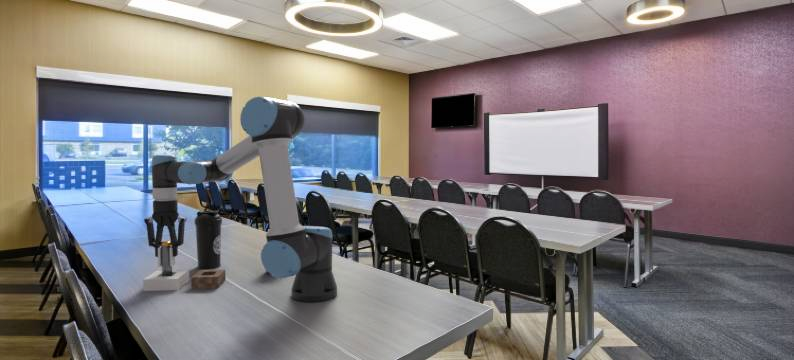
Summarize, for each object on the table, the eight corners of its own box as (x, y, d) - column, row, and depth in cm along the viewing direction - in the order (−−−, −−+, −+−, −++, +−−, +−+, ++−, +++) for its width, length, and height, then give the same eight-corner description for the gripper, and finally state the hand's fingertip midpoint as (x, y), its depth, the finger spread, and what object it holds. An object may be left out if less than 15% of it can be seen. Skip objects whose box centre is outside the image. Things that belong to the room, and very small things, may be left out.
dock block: (189, 280, 154) (189, 269, 154) (177, 290, 143) (177, 278, 143) (157, 280, 153) (157, 270, 153) (143, 291, 142) (143, 279, 142)
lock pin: (173, 279, 150) (172, 240, 149) (170, 282, 147) (169, 242, 146) (164, 279, 150) (163, 240, 148) (160, 282, 146) (159, 242, 145)
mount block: (225, 280, 155) (225, 269, 155) (218, 288, 146) (218, 276, 146) (199, 280, 154) (199, 270, 154) (191, 288, 145) (191, 277, 145)
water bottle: (216, 269, 168) (215, 212, 166) (190, 269, 168) (189, 212, 166) (226, 263, 178) (225, 209, 176) (202, 262, 178) (201, 208, 176)
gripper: (193, 198, 151) (194, 262, 152) (145, 198, 149) (147, 263, 150) (185, 200, 143) (187, 268, 145) (134, 200, 141) (137, 269, 143)
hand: (166, 265), depth 148 cm, fingers closed on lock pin, 3 cm apart
